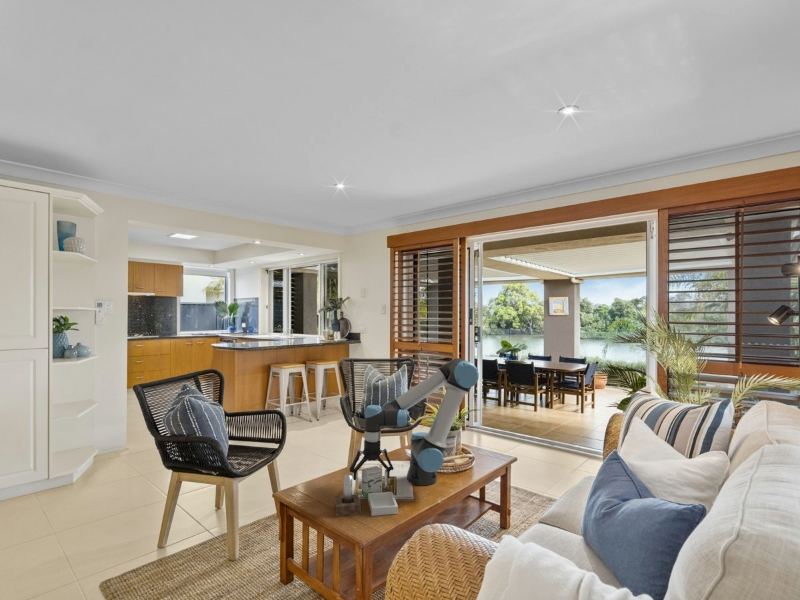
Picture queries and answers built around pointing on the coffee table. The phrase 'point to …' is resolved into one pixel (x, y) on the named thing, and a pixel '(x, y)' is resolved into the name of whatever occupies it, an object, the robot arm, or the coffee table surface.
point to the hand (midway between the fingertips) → (371, 485)
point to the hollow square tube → (347, 506)
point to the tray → (382, 503)
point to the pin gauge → (348, 488)
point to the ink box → (371, 480)
